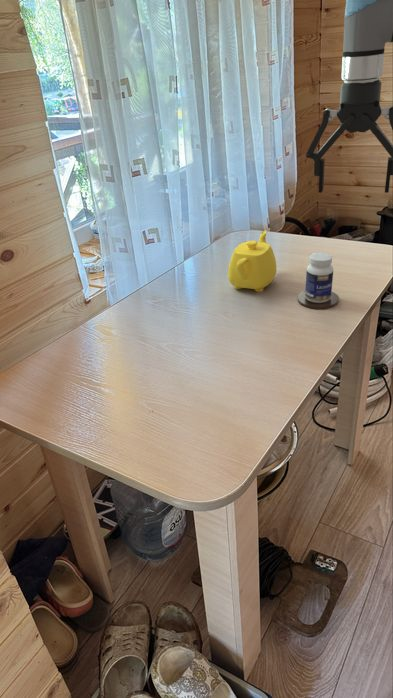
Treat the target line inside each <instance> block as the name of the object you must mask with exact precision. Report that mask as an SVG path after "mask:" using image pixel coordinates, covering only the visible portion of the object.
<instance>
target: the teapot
mask: <svg viewBox="0 0 393 698" xmlns="http://www.w3.org/2000/svg"><path fill="white" fill-rule="evenodd" d="M266 238H267V230H262V231H261V233H260V236H259V240H258V241H257V240H254V239H253V240H252V239H251V240H248V241H243V242H241V243H240V244H238V245H236V247H235V248H234V249H233V252H232V254H231V257H230V260H229V263H228V269H227V279H228V281H229V283H230V285H232V286H234V287H233V288H234V289H237V290H241V289H252V290H254V292H258V293H261V292H263V291H264V290H265V289H264V288H265V287H267V286H269V285H270V284H271V283H272V281H273V280H274V279H275V276H276V274H277V260H276V256H275V252H274V250H273V248H272V246H271V244H270V243H268V242H267V241H266Z"/></svg>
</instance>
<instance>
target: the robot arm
mask: <svg viewBox="0 0 393 698" xmlns="http://www.w3.org/2000/svg"><path fill="white" fill-rule="evenodd" d="M387 43H393V0H345V11H344V23H343V44H342V45H343V46H342V58H341V59H342V60H341V76H340V77H341V80H342V81H343V82H342V84H341V85H340V97H339V107H338V109H331V108H329V107H328V108H325V110H324V111H323V114H322V120H321V123H320V125H319V127H318V129H317V131H316V133H315V135H314V138H313V139H312V141H311V144H310V145H309V147H308V149H307V151H306V153H305V158H307V159H310V160H313V162H314V163H313V175H314V177H318V193H323V192H324V185H325V184H324V183H325V163H326V162H325V161H326V159H325V158H323V157H324V155H325V154H326V153H327V152H328V151H329V149H331V148H332V146H333V145H334V143H336V141H337V140H338V139H339V138H340V137H341V136H342V135H343V133H344V132H345V131H346V132H348V133H349V134H352V133H353V134H354V133H357V132H359V133H366V132H369V131H370V132H371V133H372V134H373V135H374V136H375V138H376V139H377V140H378V142H379V143H380V144H381V145H382V147H383V148H384V149H385V151H386V152H387V154H388V155H389V157H388V158H387V166H386V174H385V183H384V184H385V185H384V193H387V194H388V193H389V192H390V183H391V176H393V143H392V142H391V141H390V139H389V138H388V137H387V136H386V134H385V132H383V130H382V129H381V128H380V126H379V124H378V123H377V120H378V119H379V118H380V117H381V115H383V116H384V118H385V120H388V121H389V124H390V128H391V130H392V131H393V104H391V105H390V106H386V107H381V105H380V104H381V101H380V100H381V92H382V82H381V79H380V78H381V77H383V71H384V60H385V46H386V44H387ZM335 117H337V120H338V121H339V122H340V125H339V126H338V128H337V129H336V130H335V131H334V132H333V133H332V134H331V135H330V137H329V138H328V139H327V140H326V141H325V143H324V144H323V145H322V146H321V148H320V149H319V150H318V151H315V150H316V148H317V146H318V144H319V142H320V141H321V138H322V137H323V135H324V133H325V130H326V129H327V127H328V125H329V123H330V122H332V121H333V120H334V118H335Z"/></svg>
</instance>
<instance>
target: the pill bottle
mask: <svg viewBox="0 0 393 698" xmlns="http://www.w3.org/2000/svg"><path fill="white" fill-rule="evenodd" d="M308 259H309V260H308V261H309V264H308V265H307V267H306V273H305V276H306V277H305V287H304V288H305V289H304V291H305V297H306V299H307V300H309V301H311V302H314V303H323V302H327V301H328V300H330V298H331V292H333V280H334V279H333V278H334V267H333V265H332V262H333V256H332V255H331V254H329V253H326V252H314V253H311V254H310V255H309V258H308Z"/></svg>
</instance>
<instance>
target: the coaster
mask: <svg viewBox="0 0 393 698" xmlns="http://www.w3.org/2000/svg"><path fill="white" fill-rule="evenodd" d="M339 301H340V297H339V295H338V294H337V293H336V292H334V291H332V292H331V298H330V300H328V301H327V302H323V303H314V302H311V301H309V300H307V299H306V297H305V290H303V291H301V292H299V294H298V295H297V302H298V304H299V305H301V306H303V307H305V308H307V309H311V310H327V309H331V308H334V307H335V306H337V305H338V304H339Z"/></svg>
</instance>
